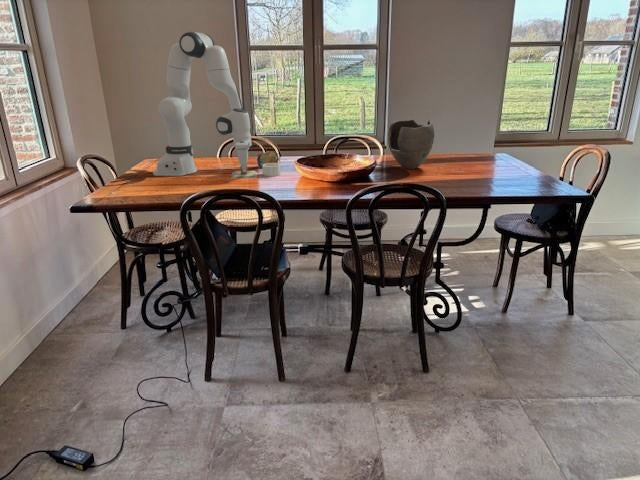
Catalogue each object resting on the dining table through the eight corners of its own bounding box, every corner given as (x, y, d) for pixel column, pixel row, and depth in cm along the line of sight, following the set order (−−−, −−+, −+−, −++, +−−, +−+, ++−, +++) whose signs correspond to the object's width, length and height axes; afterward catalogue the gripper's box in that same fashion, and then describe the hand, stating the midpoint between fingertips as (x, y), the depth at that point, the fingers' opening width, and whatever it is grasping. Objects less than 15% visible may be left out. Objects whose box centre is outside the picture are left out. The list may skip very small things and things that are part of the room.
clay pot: (429, 163, 260) (432, 118, 251) (434, 174, 238) (438, 124, 229) (386, 163, 262) (388, 118, 253) (387, 173, 240) (389, 124, 231)
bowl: (262, 177, 234) (262, 167, 232) (263, 173, 243) (262, 163, 241) (280, 177, 235) (280, 166, 233) (280, 172, 244) (279, 162, 242)
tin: (260, 169, 251) (259, 154, 248) (256, 169, 253) (255, 153, 250) (279, 164, 262) (278, 150, 259) (275, 164, 264) (274, 149, 261)
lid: (232, 178, 232) (231, 168, 230) (234, 173, 242) (233, 163, 240) (254, 177, 233) (254, 167, 231) (255, 172, 243) (254, 163, 241)
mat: (230, 179, 231) (230, 178, 231) (232, 173, 243) (232, 172, 243) (256, 178, 232) (256, 178, 232) (257, 172, 244) (257, 172, 244)
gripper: (237, 139, 241) (239, 165, 246) (234, 146, 222) (237, 174, 227) (249, 138, 242) (251, 165, 247) (248, 145, 223) (250, 173, 228)
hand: (244, 169), depth 237 cm, fingers open, 8 cm apart
